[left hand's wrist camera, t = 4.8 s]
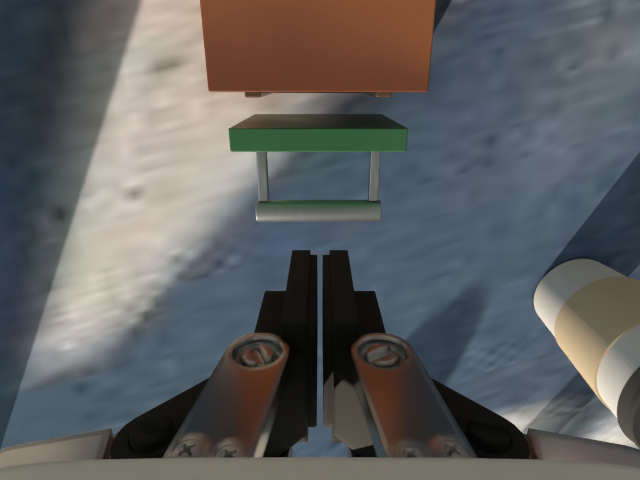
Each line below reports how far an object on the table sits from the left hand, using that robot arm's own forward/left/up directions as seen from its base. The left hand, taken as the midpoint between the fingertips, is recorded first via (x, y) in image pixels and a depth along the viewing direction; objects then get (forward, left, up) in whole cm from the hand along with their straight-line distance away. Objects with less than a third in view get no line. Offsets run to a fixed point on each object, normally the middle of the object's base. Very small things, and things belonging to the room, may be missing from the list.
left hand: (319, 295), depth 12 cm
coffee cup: (+23, +11, -21) cm, 33 cm away
